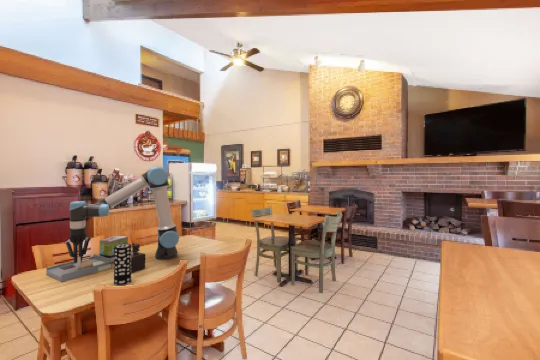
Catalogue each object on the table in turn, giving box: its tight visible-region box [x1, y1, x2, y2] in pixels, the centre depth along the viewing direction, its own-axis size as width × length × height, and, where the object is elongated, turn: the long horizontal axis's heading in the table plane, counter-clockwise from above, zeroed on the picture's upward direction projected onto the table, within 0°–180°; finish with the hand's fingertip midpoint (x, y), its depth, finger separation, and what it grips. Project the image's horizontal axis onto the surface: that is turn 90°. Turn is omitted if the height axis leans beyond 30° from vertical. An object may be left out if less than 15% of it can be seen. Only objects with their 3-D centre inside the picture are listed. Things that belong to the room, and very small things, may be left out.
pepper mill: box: [131, 242, 146, 274], centre depth 164 cm, size 16×11×18 cm
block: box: [78, 259, 93, 269], centre depth 160 cm, size 6×6×4 cm
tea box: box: [98, 235, 129, 264], centre depth 183 cm, size 15×10×15 cm, turn 168°
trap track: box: [45, 253, 112, 283], centre depth 161 cm, size 20×26×6 cm
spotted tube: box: [113, 243, 132, 286], centre depth 146 cm, size 8×8×20 cm
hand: (78, 267), depth 157 cm, fingers closed
